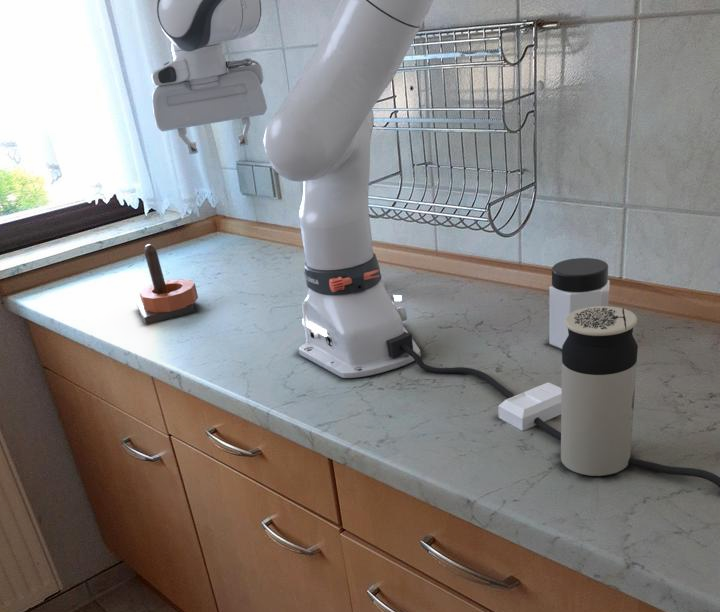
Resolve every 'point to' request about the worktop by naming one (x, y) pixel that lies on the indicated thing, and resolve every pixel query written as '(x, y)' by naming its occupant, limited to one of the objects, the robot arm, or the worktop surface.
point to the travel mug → (598, 390)
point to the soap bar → (532, 406)
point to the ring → (169, 296)
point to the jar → (575, 292)
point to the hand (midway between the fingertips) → (219, 149)
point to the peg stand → (158, 289)
